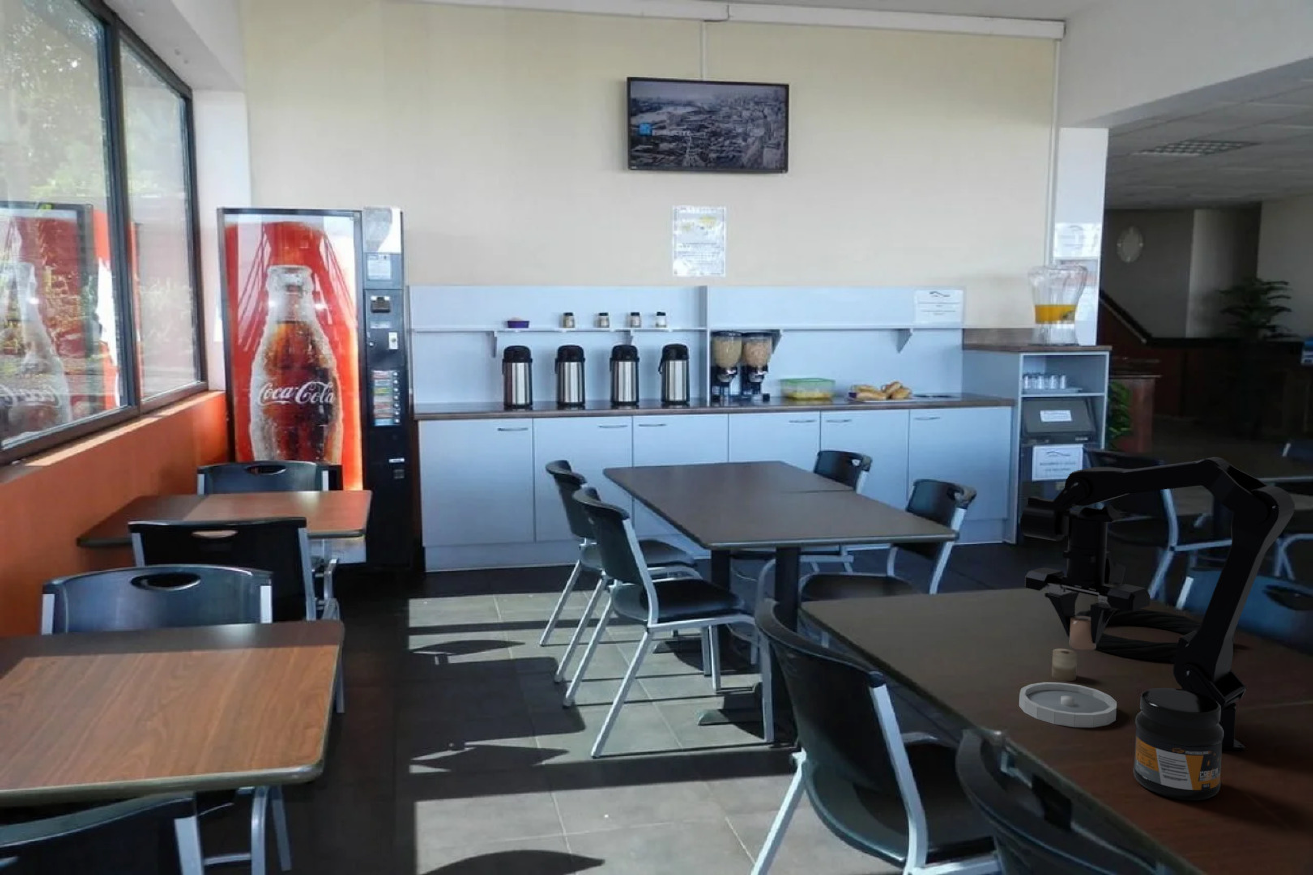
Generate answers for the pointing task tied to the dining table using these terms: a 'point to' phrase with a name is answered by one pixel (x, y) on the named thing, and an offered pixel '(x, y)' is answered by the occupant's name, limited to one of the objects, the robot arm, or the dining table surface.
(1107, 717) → the ring tray
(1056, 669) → the maple bead
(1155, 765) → the supplement container
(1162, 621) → the cable lock
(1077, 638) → the terracotta bead
